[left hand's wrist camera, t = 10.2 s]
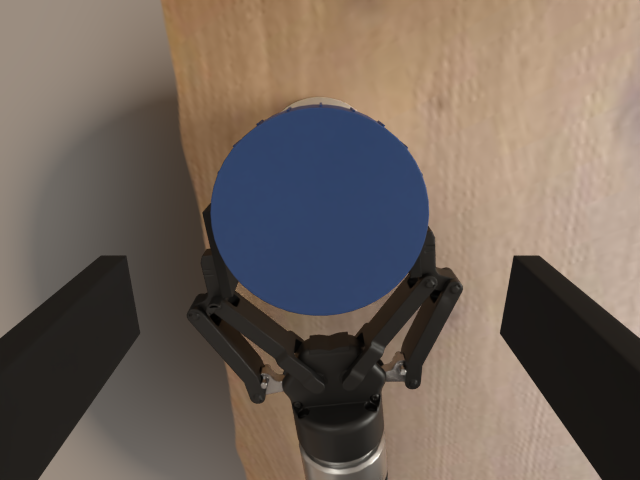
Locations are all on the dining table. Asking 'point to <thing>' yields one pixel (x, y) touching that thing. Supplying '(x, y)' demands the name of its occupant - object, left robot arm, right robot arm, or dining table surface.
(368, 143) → the lid
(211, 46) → the dining table surface
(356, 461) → the right robot arm
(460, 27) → the dining table surface
